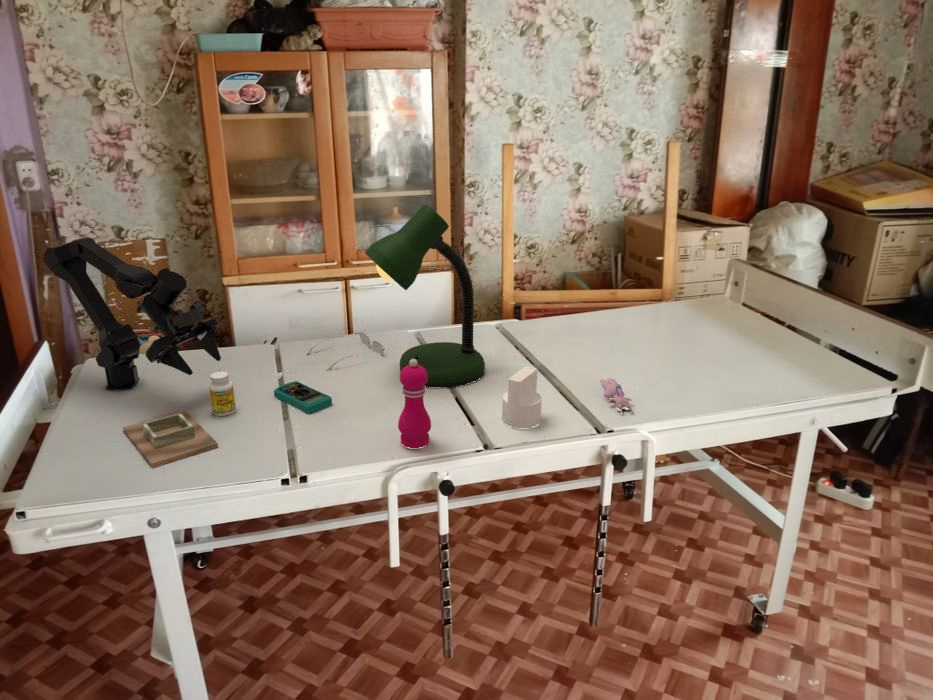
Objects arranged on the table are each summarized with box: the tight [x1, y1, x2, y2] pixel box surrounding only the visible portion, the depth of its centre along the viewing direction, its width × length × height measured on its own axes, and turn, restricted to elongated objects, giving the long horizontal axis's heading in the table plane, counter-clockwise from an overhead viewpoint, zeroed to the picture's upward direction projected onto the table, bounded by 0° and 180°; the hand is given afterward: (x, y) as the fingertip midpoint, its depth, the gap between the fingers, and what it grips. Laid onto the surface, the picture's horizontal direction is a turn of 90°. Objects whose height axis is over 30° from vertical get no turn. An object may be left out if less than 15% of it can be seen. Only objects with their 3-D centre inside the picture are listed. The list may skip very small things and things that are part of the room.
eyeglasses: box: [305, 331, 386, 372], centre depth 212 cm, size 15×18×4 cm
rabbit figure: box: [599, 378, 633, 412], centre depth 185 cm, size 6×6×15 cm
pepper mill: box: [397, 359, 432, 448], centre depth 163 cm, size 7×7×20 cm
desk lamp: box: [364, 203, 486, 389], centre depth 193 cm, size 31×23×45 cm
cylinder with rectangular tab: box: [501, 365, 543, 428], centre depth 174 cm, size 9×9×12 cm
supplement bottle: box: [208, 371, 237, 417], centre depth 178 cm, size 5×5×10 cm
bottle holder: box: [122, 410, 219, 468], centre depth 166 cm, size 20×14×4 cm
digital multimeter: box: [273, 380, 333, 415], centre depth 185 cm, size 7×15×3 cm, turn 48°
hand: (206, 366), depth 177 cm, fingers open, 9 cm apart
